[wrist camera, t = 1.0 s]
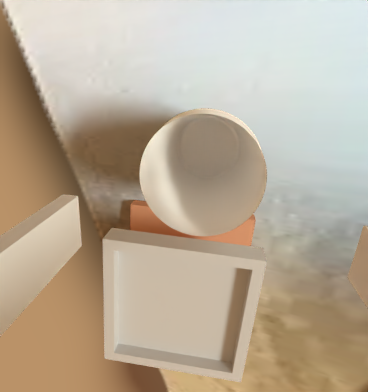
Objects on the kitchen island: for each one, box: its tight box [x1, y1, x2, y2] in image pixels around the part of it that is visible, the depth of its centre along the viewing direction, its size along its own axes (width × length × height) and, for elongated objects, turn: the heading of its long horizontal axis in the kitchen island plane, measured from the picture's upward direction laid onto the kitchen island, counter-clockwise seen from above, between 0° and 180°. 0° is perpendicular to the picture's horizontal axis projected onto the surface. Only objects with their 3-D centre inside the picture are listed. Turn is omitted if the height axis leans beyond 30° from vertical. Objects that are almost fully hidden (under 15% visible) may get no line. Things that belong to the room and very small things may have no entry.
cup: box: [139, 108, 267, 236], centre depth 25 cm, size 9×9×12 cm
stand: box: [103, 200, 267, 382], centre depth 31 cm, size 14×14×10 cm
